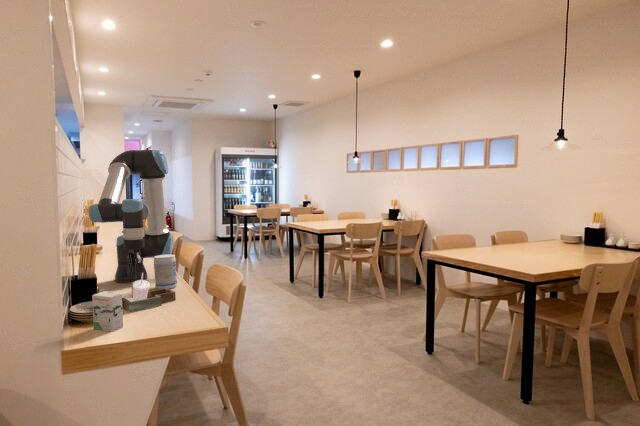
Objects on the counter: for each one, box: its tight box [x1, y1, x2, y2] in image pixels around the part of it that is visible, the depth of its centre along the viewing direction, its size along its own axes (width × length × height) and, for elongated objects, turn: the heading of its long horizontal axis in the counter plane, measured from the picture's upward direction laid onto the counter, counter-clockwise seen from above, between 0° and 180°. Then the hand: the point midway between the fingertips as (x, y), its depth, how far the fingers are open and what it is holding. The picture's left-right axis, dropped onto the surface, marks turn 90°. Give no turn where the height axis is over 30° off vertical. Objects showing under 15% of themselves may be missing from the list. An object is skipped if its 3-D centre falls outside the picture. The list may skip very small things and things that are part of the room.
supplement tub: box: [153, 253, 178, 290], centre depth 198 cm, size 10×10×15 cm
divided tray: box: [122, 288, 177, 313], centre depth 172 cm, size 19×26×4 cm
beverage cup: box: [132, 273, 151, 302], centre depth 167 cm, size 6×6×14 cm
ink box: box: [92, 290, 124, 333], centre depth 143 cm, size 9×5×12 cm, turn 69°
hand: (136, 296), depth 171 cm, fingers closed
